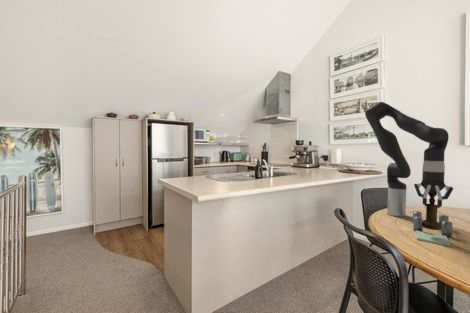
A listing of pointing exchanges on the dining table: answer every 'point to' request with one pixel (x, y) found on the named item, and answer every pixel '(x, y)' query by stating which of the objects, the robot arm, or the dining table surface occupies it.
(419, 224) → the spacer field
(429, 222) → the wooden pepper mill
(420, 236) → the green mat
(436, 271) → the dining table surface
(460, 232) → the dining table surface
